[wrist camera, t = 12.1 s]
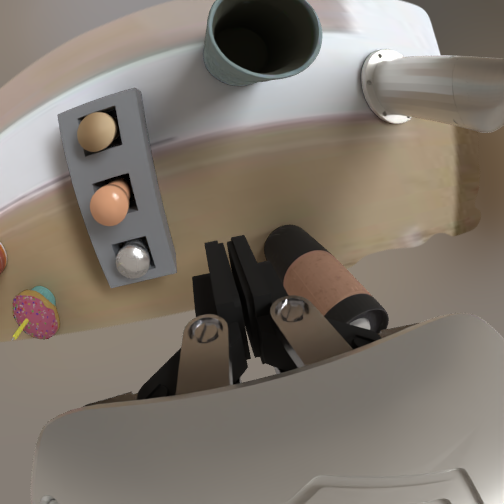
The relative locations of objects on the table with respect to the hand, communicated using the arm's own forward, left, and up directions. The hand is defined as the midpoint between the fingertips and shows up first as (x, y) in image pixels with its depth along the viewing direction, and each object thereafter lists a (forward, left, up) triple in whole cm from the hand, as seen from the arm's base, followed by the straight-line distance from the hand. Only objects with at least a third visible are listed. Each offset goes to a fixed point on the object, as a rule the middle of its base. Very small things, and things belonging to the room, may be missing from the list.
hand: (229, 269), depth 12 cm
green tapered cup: (-7, -14, -24) cm, 29 cm away
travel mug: (-11, +14, -24) cm, 31 cm away
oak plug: (+9, -7, -24) cm, 26 cm away
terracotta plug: (+9, 0, -22) cm, 24 cm away
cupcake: (+29, +13, -24) cm, 40 cm away
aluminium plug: (+9, +8, -24) cm, 26 cm away
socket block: (+9, 0, -24) cm, 26 cm away
